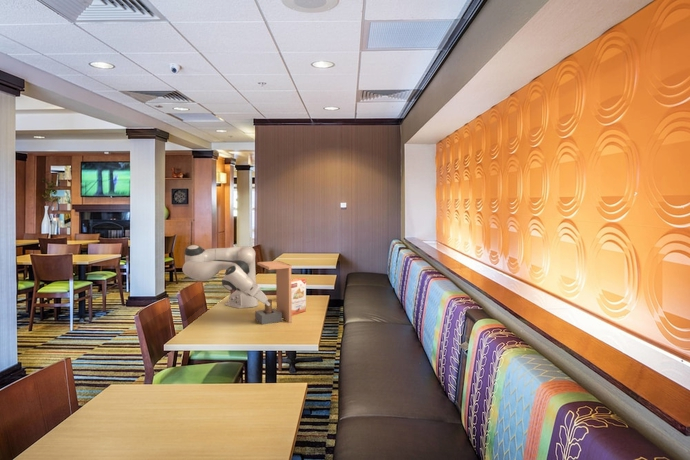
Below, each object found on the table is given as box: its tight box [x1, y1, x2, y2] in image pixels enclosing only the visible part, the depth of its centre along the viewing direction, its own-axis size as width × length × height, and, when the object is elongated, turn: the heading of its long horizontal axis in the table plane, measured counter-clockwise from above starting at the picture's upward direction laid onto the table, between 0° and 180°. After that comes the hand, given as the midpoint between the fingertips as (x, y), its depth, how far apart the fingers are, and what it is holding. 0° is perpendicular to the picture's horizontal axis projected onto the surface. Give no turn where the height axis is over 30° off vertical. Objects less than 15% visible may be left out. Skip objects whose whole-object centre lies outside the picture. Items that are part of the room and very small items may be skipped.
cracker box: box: [291, 277, 307, 316], centre depth 259 cm, size 14×6×21 cm, turn 143°
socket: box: [254, 308, 283, 325], centre depth 243 cm, size 12×12×5 cm
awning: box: [256, 260, 293, 324], centre depth 244 cm, size 13×20×33 cm, turn 30°
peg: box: [264, 298, 273, 314], centre depth 243 cm, size 4×4×12 cm
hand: (266, 303), depth 241 cm, fingers open, 8 cm apart
